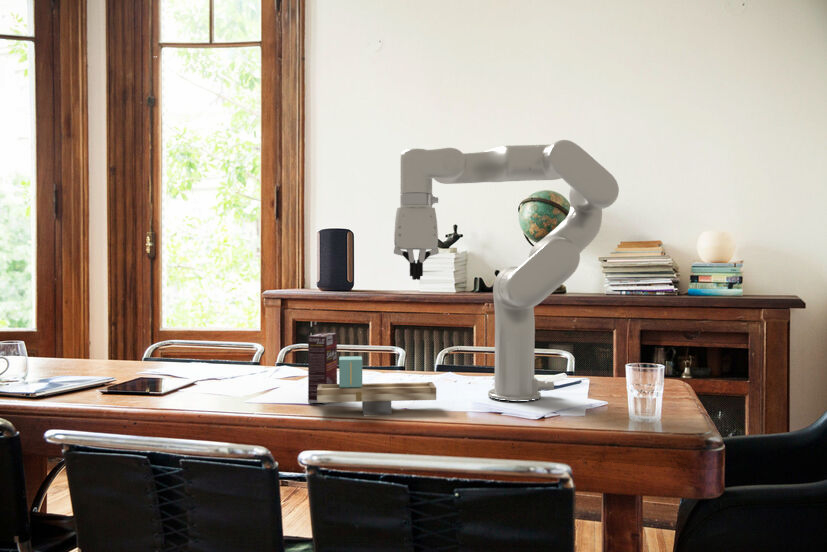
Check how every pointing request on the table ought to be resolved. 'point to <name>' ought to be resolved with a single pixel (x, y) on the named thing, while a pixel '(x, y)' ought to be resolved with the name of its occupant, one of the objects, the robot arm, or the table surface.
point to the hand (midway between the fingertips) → (416, 279)
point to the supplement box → (321, 362)
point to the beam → (377, 395)
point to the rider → (350, 372)
